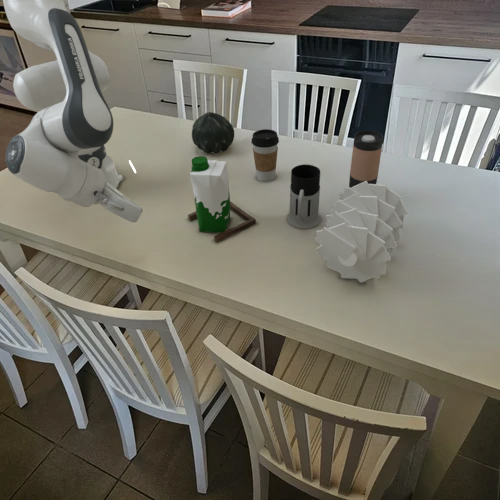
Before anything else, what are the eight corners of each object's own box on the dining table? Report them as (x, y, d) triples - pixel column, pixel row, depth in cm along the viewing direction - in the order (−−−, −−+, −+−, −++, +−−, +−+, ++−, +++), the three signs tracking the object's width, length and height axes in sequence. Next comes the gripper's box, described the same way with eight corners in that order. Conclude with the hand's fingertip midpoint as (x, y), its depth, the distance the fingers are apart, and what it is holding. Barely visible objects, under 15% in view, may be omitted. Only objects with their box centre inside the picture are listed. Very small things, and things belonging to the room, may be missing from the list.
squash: (221, 120, 167) (197, 98, 155) (248, 133, 159) (225, 111, 147) (201, 153, 168) (175, 133, 156) (226, 167, 160) (202, 148, 147)
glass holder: (321, 211, 127) (324, 164, 118) (315, 242, 117) (318, 192, 107) (290, 209, 129) (291, 162, 120) (282, 238, 118) (282, 189, 109)
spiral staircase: (382, 245, 120) (360, 304, 102) (327, 210, 122) (296, 261, 103) (425, 197, 108) (410, 255, 90) (364, 158, 109) (335, 206, 91)
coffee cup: (248, 181, 142) (246, 137, 133) (258, 169, 148) (257, 125, 139) (273, 185, 140) (273, 140, 130) (282, 172, 146) (282, 129, 136)
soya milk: (203, 215, 128) (194, 151, 116) (234, 217, 127) (229, 152, 115) (195, 233, 122) (185, 167, 109) (228, 235, 120) (221, 169, 108)
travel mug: (376, 196, 132) (386, 132, 120) (370, 209, 127) (380, 144, 114) (350, 191, 135) (358, 128, 122) (343, 204, 130) (350, 140, 117)
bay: (188, 219, 127) (187, 214, 126) (226, 202, 133) (225, 198, 132) (216, 242, 118) (216, 238, 117) (256, 223, 124) (255, 219, 123)
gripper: (115, 189, 89) (165, 212, 100) (73, 157, 101) (121, 181, 112) (100, 217, 89) (151, 237, 100) (60, 181, 102) (109, 203, 113)
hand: (135, 207), depth 106 cm, fingers closed
